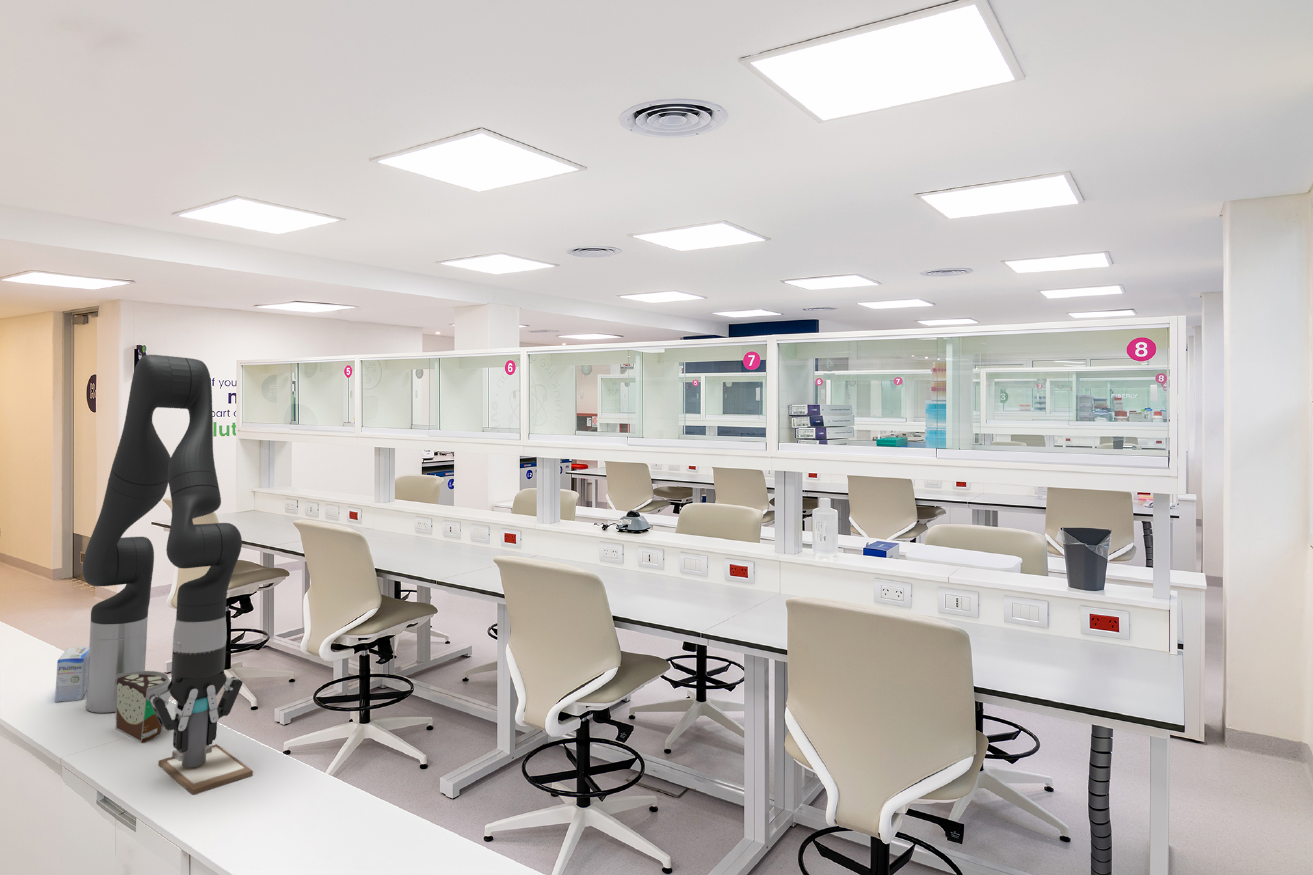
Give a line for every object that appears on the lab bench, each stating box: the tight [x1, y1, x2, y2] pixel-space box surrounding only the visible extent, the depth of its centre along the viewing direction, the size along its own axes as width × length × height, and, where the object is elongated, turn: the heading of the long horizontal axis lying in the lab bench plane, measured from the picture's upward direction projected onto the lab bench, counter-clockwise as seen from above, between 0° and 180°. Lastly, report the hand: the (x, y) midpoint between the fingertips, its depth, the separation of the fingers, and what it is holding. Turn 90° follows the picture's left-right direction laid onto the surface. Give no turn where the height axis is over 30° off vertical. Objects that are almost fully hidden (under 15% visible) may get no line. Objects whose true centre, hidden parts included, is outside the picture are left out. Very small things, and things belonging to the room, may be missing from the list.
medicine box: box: [54, 646, 89, 703], centre depth 150 cm, size 8×4×9 cm, turn 28°
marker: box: [182, 697, 208, 768], centre depth 122 cm, size 4×4×11 cm
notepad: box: [158, 743, 254, 796], centre depth 123 cm, size 14×9×2 cm, turn 52°
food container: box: [114, 670, 171, 744], centre depth 136 cm, size 12×6×10 cm, turn 59°
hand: (194, 746), depth 122 cm, fingers closed on marker, 3 cm apart
